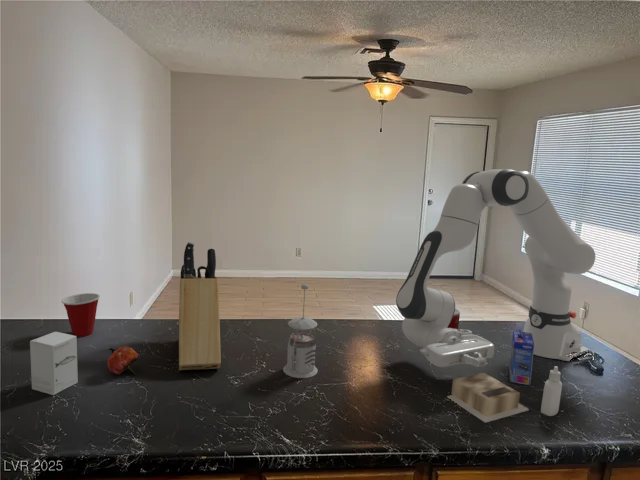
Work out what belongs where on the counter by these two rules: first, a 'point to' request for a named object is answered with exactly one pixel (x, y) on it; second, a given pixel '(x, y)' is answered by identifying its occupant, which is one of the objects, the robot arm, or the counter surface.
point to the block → (485, 394)
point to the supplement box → (53, 362)
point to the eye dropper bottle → (552, 393)
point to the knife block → (199, 314)
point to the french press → (301, 348)
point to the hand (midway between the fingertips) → (482, 363)
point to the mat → (491, 417)
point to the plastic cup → (81, 312)
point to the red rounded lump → (121, 359)
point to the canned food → (455, 320)
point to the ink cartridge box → (521, 357)
